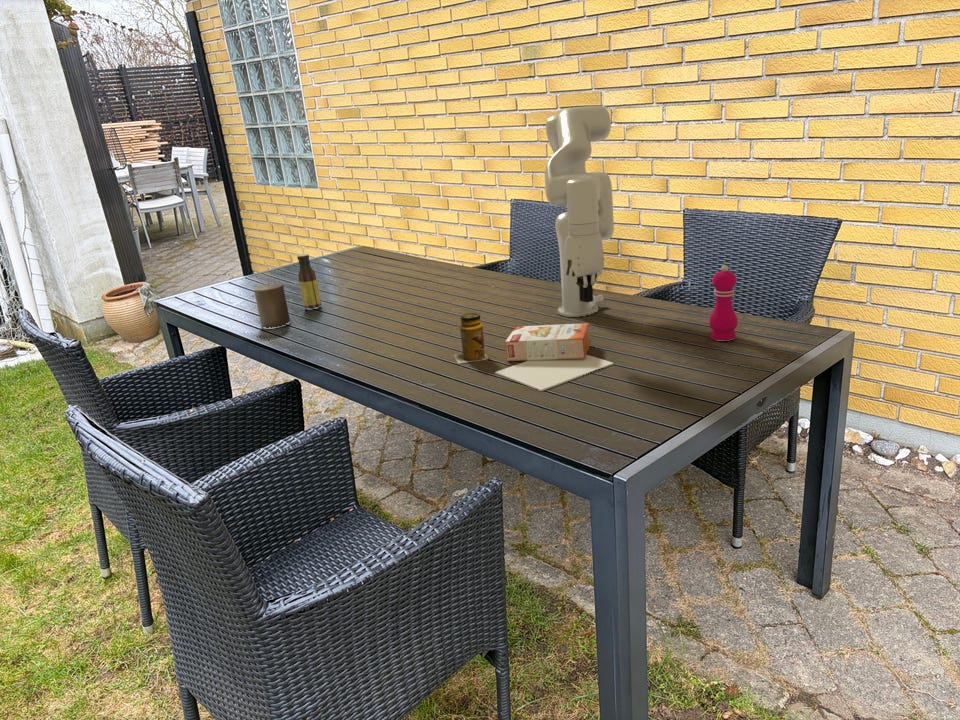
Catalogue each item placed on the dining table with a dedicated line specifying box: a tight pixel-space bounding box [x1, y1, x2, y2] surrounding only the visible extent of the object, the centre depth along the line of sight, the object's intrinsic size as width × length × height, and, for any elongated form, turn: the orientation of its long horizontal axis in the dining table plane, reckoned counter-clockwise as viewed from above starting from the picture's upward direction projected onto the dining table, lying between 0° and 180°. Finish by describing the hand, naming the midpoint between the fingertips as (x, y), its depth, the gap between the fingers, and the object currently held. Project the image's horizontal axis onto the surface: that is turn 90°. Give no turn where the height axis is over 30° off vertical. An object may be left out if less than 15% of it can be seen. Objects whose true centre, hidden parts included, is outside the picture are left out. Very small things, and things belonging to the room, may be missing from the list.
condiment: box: [452, 312, 490, 365], centre depth 198 cm, size 7×8×12 cm
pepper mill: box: [708, 264, 739, 340], centre depth 193 cm, size 7×7×20 cm
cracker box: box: [504, 322, 592, 362], centre depth 196 cm, size 14×6×21 cm
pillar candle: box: [253, 282, 291, 328], centre depth 246 cm, size 10×10×15 cm
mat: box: [494, 354, 615, 392], centre depth 185 cm, size 24×18×1 cm
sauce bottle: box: [296, 253, 322, 309], centre depth 263 cm, size 6×6×20 cm
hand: (586, 300), depth 187 cm, fingers closed
